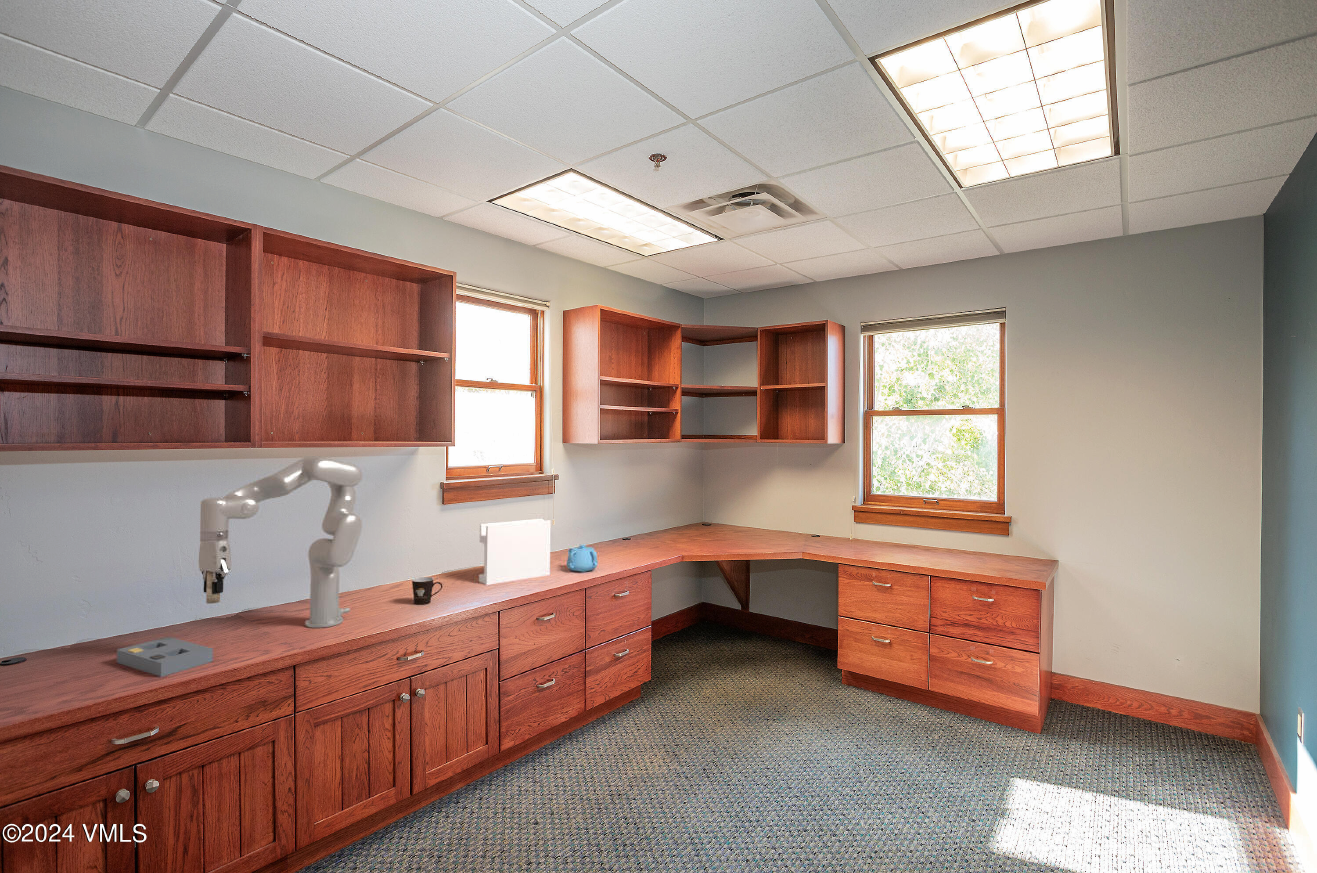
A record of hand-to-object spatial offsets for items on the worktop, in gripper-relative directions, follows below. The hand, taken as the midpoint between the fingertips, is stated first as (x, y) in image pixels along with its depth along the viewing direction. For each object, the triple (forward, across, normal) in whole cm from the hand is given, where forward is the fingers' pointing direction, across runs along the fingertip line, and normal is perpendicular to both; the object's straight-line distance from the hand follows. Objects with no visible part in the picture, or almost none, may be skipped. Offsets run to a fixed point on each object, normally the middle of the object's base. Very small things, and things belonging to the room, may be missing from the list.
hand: (213, 591), depth 203 cm
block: (+19, -21, -130) cm, 133 cm away
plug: (+3, 0, 0) cm, 3 cm away
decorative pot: (+19, -40, -162) cm, 168 cm away
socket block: (+19, +3, +12) cm, 23 cm away
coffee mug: (+19, -17, -75) cm, 79 cm away
